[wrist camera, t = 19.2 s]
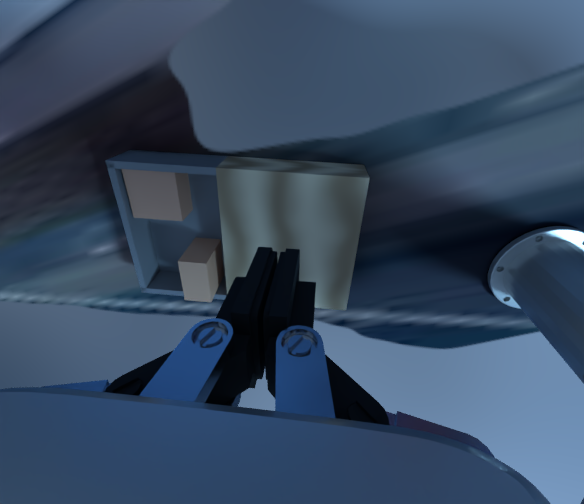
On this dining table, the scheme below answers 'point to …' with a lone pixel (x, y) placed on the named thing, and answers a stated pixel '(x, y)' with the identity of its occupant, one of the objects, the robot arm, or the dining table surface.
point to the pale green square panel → (294, 218)
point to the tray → (166, 233)
